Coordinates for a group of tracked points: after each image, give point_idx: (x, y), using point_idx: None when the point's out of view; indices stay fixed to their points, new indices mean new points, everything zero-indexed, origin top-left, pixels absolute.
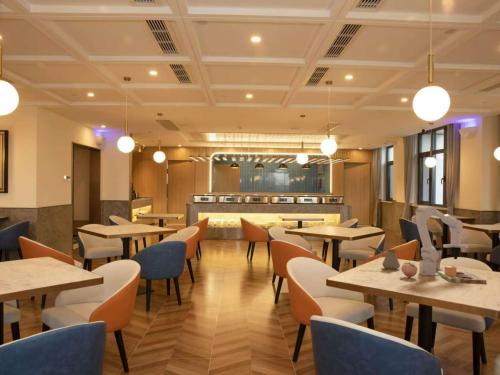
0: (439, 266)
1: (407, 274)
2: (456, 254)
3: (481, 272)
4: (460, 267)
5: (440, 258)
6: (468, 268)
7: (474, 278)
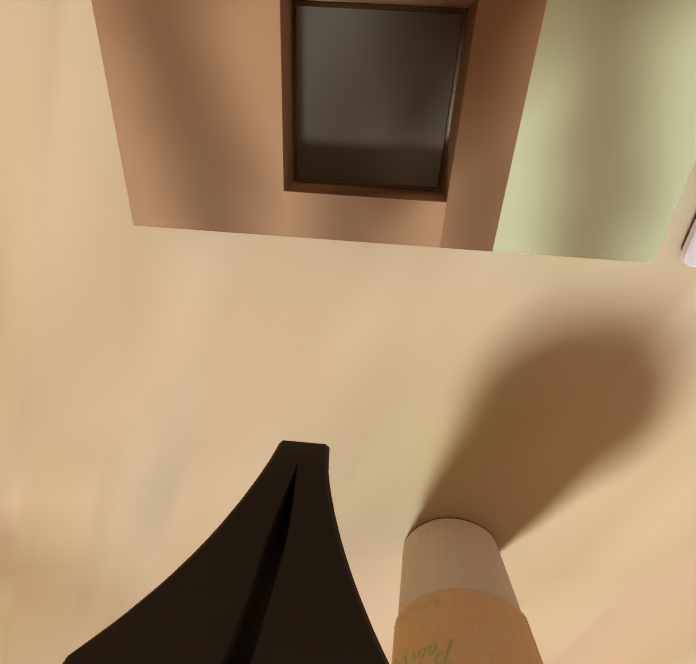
0: (419, 547)
1: None
2: (272, 532)
3: (8, 411)
4: None
5: (420, 647)
6: (112, 557)
7: None
